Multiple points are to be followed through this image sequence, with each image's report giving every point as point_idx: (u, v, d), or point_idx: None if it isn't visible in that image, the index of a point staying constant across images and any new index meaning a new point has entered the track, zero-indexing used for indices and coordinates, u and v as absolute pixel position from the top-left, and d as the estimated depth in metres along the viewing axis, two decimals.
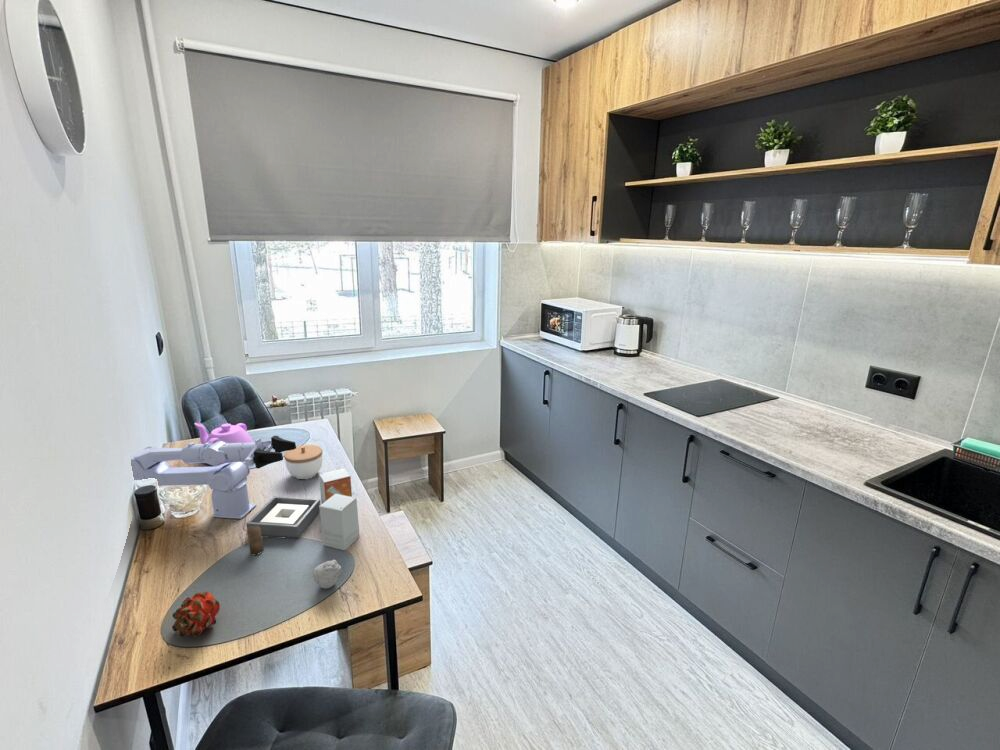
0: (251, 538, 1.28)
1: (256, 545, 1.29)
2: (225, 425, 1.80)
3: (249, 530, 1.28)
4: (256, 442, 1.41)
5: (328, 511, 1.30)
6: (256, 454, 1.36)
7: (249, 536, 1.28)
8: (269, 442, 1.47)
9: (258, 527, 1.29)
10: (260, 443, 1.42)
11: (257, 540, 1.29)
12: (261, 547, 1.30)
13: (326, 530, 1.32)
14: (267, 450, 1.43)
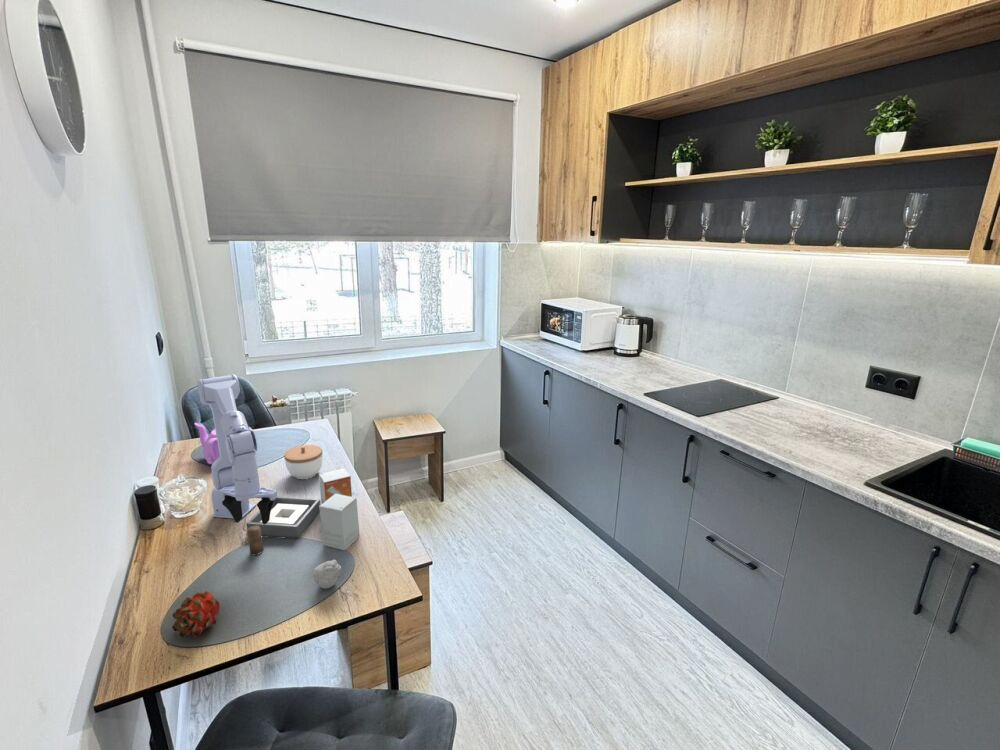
0: (251, 538, 1.28)
1: (256, 545, 1.29)
2: None
3: (249, 530, 1.28)
4: None
5: (328, 511, 1.30)
6: None
7: (249, 536, 1.28)
8: None
9: (258, 527, 1.29)
10: None
11: (257, 540, 1.29)
12: (261, 547, 1.30)
13: (326, 530, 1.32)
14: None
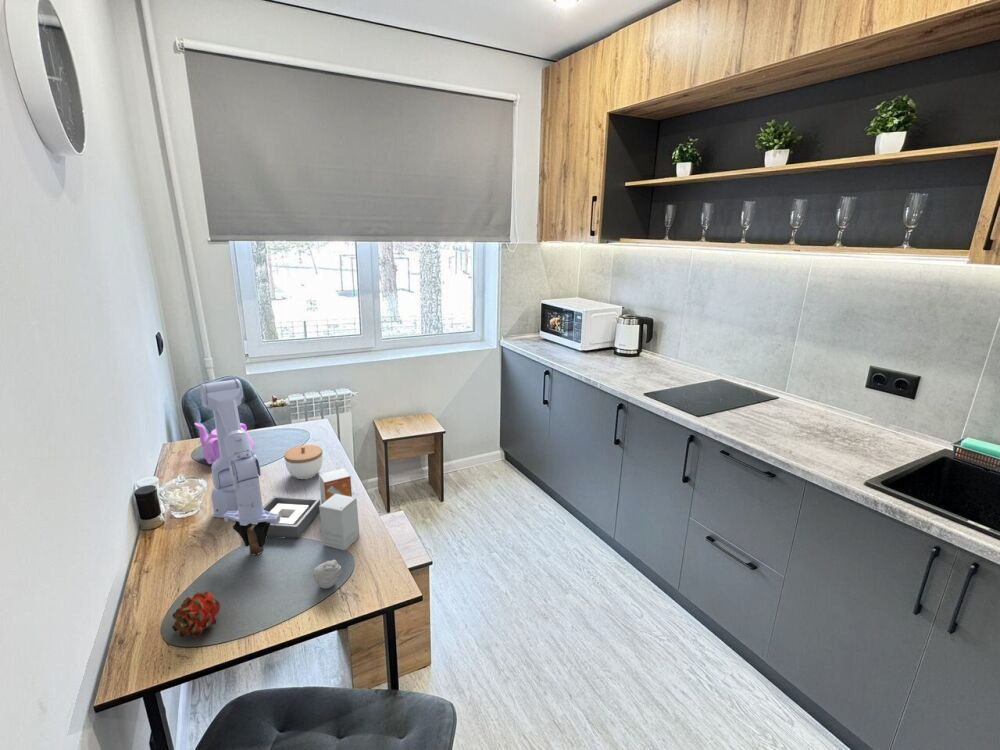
0: (251, 538, 1.28)
1: (256, 545, 1.29)
2: None
3: (249, 530, 1.28)
4: None
5: (328, 511, 1.30)
6: None
7: (249, 536, 1.28)
8: None
9: None
10: None
11: (257, 540, 1.29)
12: (261, 547, 1.30)
13: (326, 530, 1.32)
14: None
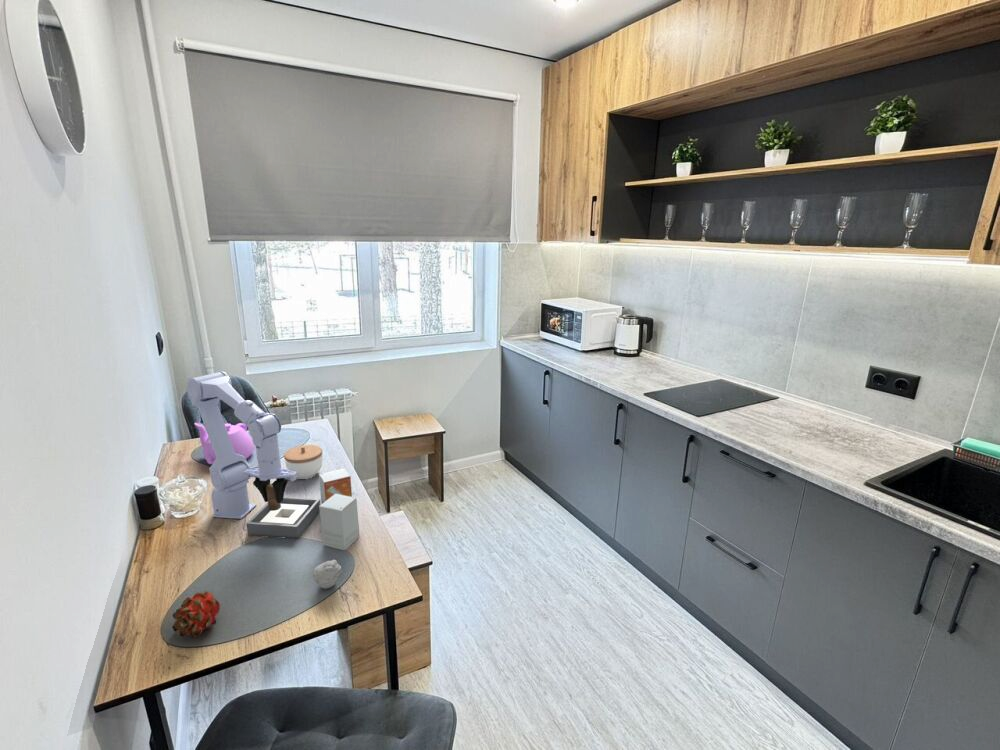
0: (269, 494, 1.35)
1: (274, 501, 1.36)
2: (225, 425, 1.80)
3: (268, 486, 1.35)
4: None
5: (328, 511, 1.30)
6: None
7: (268, 492, 1.35)
8: None
9: None
10: None
11: (275, 496, 1.36)
12: (279, 503, 1.37)
13: (326, 530, 1.32)
14: None
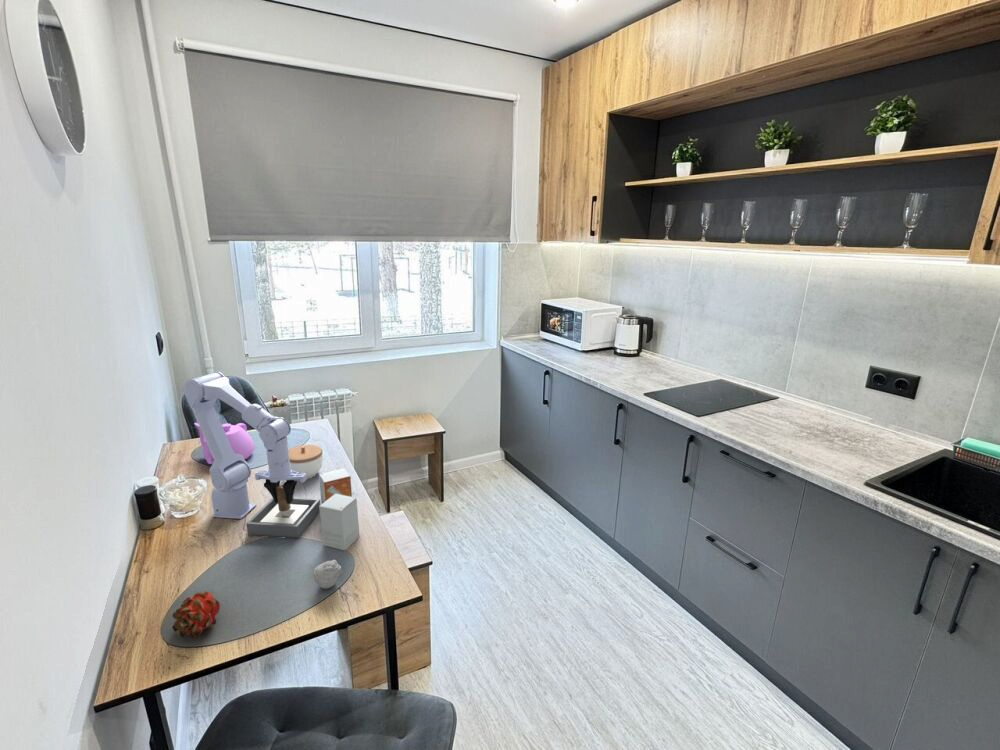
0: (279, 495, 1.40)
1: (284, 502, 1.40)
2: (225, 425, 1.80)
3: (278, 488, 1.40)
4: None
5: (328, 511, 1.30)
6: None
7: (278, 493, 1.40)
8: None
9: None
10: None
11: (285, 497, 1.40)
12: (288, 504, 1.42)
13: (326, 530, 1.32)
14: None
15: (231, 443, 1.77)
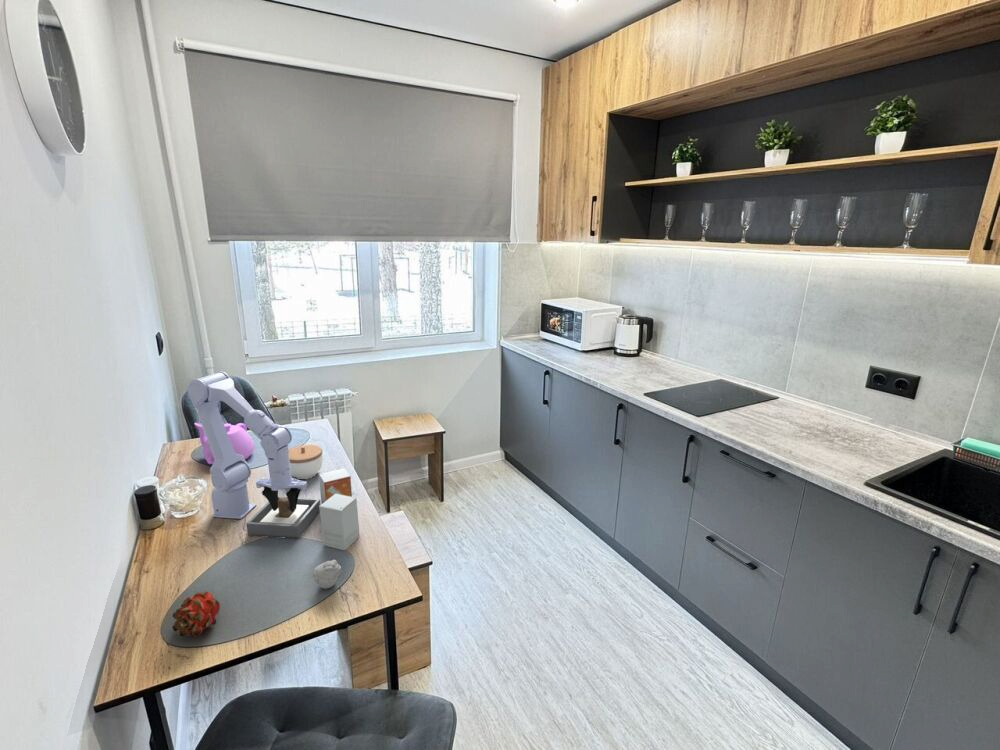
0: (281, 508, 1.41)
1: (285, 515, 1.42)
2: (225, 425, 1.80)
3: (280, 501, 1.41)
4: None
5: (328, 511, 1.30)
6: None
7: (279, 506, 1.41)
8: None
9: (287, 498, 1.42)
10: None
11: (287, 510, 1.42)
12: None
13: (326, 530, 1.32)
14: None
15: (231, 443, 1.77)
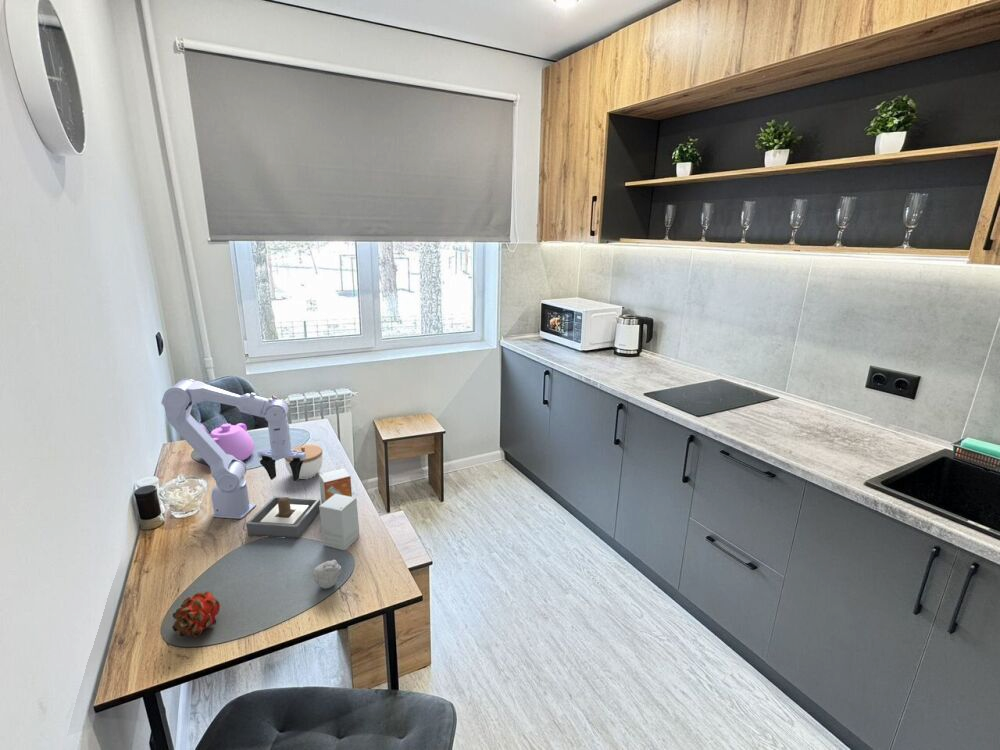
0: (281, 508, 1.41)
1: (285, 515, 1.42)
2: (225, 425, 1.80)
3: (280, 500, 1.41)
4: None
5: (328, 511, 1.30)
6: None
7: (279, 506, 1.41)
8: None
9: (287, 498, 1.43)
10: None
11: (287, 510, 1.42)
12: None
13: (326, 530, 1.32)
14: None
15: (231, 443, 1.77)
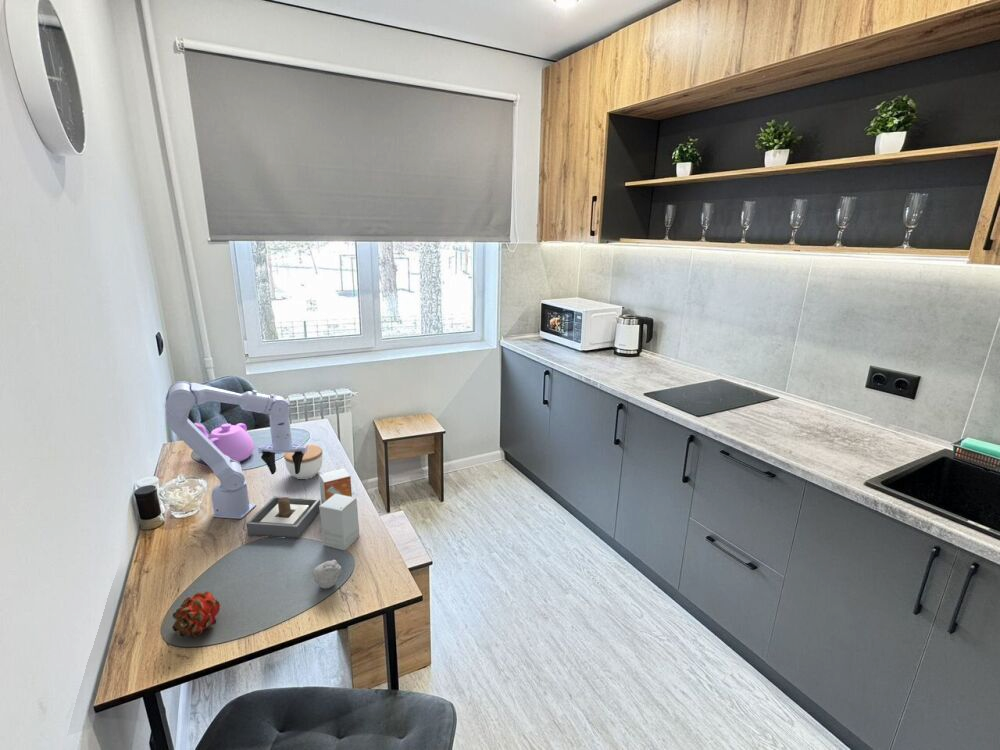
0: (281, 508, 1.41)
1: (285, 515, 1.42)
2: (225, 425, 1.80)
3: (280, 500, 1.41)
4: None
5: (328, 511, 1.30)
6: None
7: (279, 506, 1.41)
8: None
9: (287, 498, 1.43)
10: None
11: (287, 510, 1.42)
12: None
13: (326, 530, 1.32)
14: None
15: (231, 443, 1.77)
